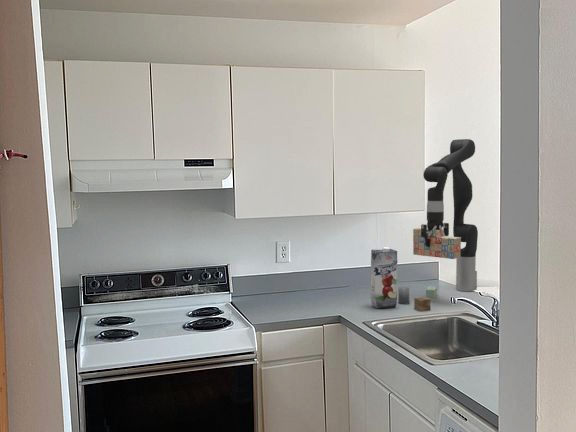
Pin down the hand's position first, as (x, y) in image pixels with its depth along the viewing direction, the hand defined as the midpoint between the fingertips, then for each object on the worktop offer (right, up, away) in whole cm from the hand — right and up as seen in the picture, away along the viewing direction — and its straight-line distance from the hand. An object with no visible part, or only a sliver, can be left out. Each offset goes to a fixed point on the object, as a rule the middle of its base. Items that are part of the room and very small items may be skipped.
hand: (434, 246), depth 275 cm
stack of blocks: (+1, -5, 0) cm, 5 cm away
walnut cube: (-9, -27, -12) cm, 31 cm away
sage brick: (+2, -25, +14) cm, 28 cm away
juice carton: (-24, -27, -6) cm, 37 cm away
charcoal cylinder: (-14, -26, 0) cm, 30 cm away
